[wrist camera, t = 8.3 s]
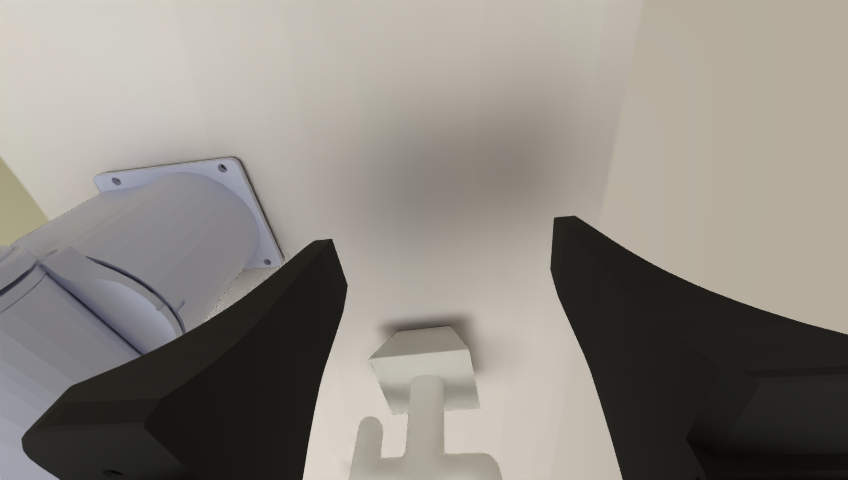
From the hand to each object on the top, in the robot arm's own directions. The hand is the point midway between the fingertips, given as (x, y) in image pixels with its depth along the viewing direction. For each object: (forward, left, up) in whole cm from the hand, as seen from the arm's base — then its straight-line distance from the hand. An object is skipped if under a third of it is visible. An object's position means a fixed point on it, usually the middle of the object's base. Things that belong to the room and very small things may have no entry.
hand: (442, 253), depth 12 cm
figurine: (-3, -17, -11) cm, 20 cm away
